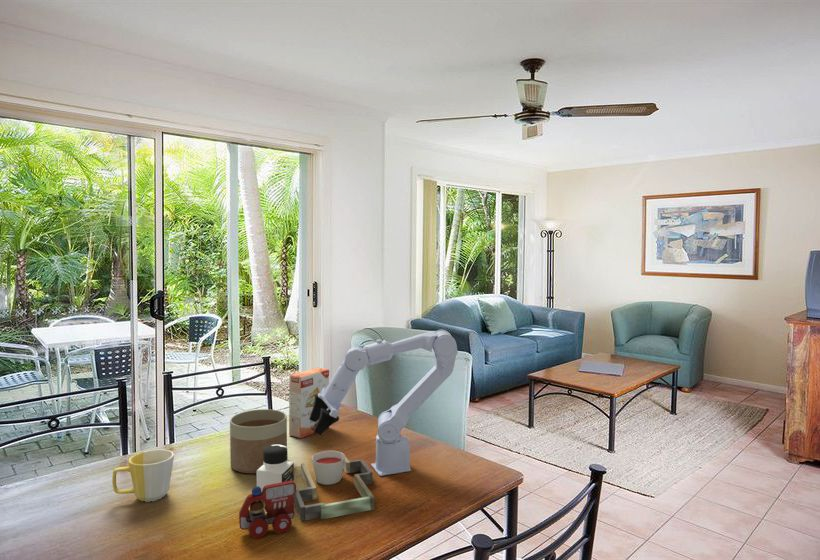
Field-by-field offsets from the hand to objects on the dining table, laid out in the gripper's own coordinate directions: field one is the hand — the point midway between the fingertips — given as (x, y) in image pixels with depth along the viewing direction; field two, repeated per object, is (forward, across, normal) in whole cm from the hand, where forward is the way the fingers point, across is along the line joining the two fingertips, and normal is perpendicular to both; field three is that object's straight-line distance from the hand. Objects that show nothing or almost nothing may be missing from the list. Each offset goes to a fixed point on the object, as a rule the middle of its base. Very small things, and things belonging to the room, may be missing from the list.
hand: (314, 426), depth 148 cm
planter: (+20, -8, -6) cm, 22 cm away
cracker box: (+14, -29, +12) cm, 34 cm away
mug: (+32, +4, -32) cm, 45 cm away
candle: (+9, +9, +8) cm, 15 cm away
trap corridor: (+8, +16, +7) cm, 19 cm away
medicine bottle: (+15, +12, -5) cm, 20 cm away
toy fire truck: (+15, +29, -9) cm, 34 cm away
